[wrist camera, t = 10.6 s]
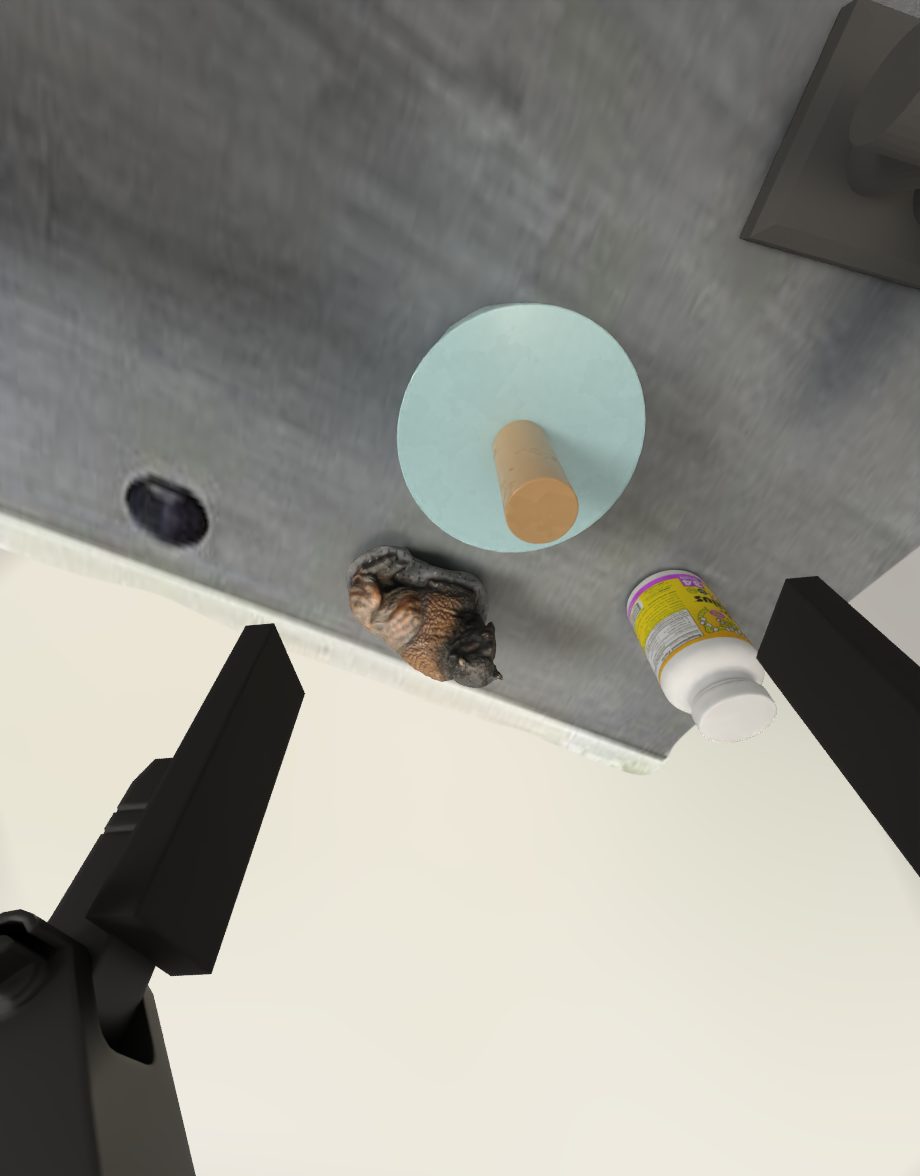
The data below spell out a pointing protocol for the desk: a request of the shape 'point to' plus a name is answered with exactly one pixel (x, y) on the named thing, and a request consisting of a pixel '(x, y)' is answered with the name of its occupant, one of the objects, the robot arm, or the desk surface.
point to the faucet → (852, 153)
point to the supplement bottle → (700, 656)
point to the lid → (521, 427)
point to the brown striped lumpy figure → (425, 615)
